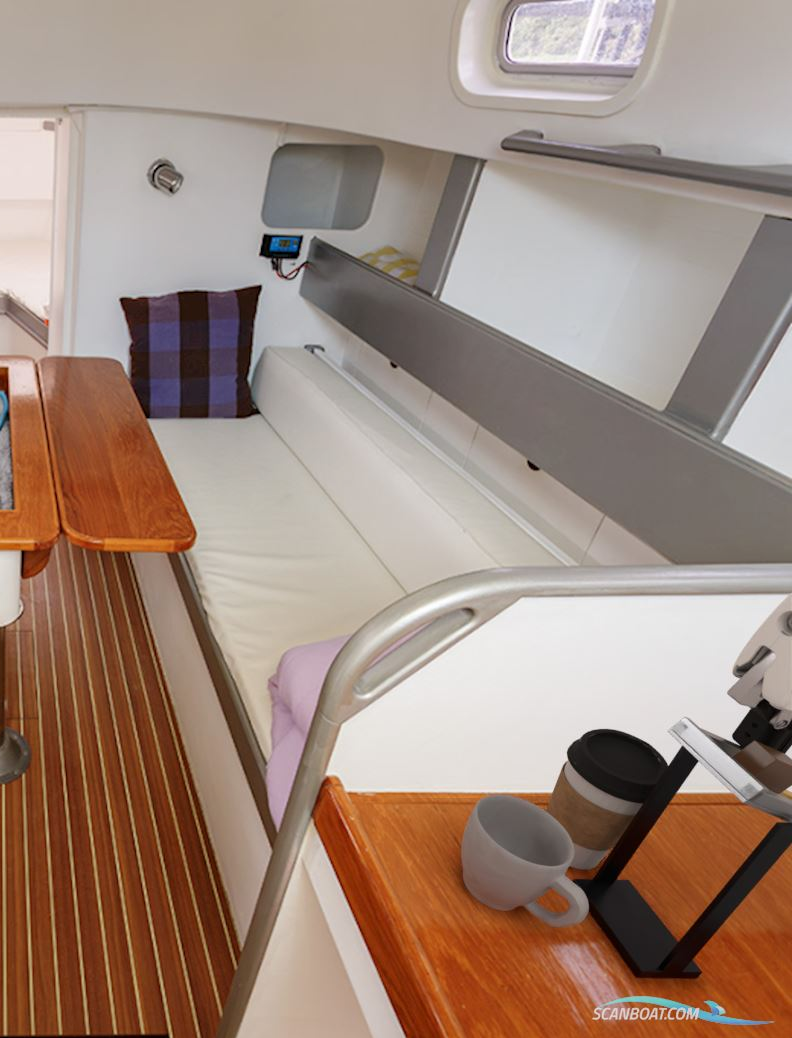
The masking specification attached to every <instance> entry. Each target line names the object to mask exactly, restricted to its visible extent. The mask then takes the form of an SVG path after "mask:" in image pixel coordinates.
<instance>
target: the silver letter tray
mask: <svg viewBox="0 0 792 1038" xmlns="http://www.w3.org/2000/svg"><path fill="white" fill-rule="evenodd" d="M667 733H669V735H670V736H671V737H673V738H674V739H675V740H676V741H677V742H678V743H679V744H680V745H681V746H683V747H684V748H685V749H686V750H688V751H689V752H690V753H691V754H692V755H693V756H694V757H695V758H696V759H697V760H698V763H700V764H701V765H702V766H703V767H704V768H705V769H706V770H707V771H708V772H710V773H711V774H712V775H713V776H714V777H715V778H716V779H717V780H718V781H719V782H720V783H721V784H722V785H723V786H725V788H726V789H727V790H729V791H730V793H732V794H733V795H734V796H735V797H736V798H737V800H739V801H740V802H741V803H742V804H745V805H746V806H749V807H751V808H754V809H756V810H757V811H761V812H763V813H765V814H767V815H770V816H773V817H775V818H777V819H780V820H782V821H783V822H791V823H792V800H791V799H789V798H786V797H784V796H782V795H779V794H777V793H775V792H772V791H770V790H769V789H767V788H766V787H765V786H764V785H763V784H762V783H761V782H760V781H759V780H757V779H756V778H755V777H754V776H753V775H752V774H751V773H750V772H748V771H747V770H746V769H745V768H744V767H743V766H742V765H741V764H740V763H738V762H737V761H736V760H735V759H734V758H733V756H734V755H736V754H737V753H738V752H740V751H741V750H742V749H744V748H743V747H742V746H740V745H739V744H738V743H736V742H733V741H731V740H728V739H727V738H724V737H722V736H719V735H718V734H715V733H713V732H711V731H708V730H706V729H704V728H702V727H700V726H699V725H698V724H696V723H695V721H693V720H692V719H691V718H689V717H687V716H683V717H682V718H681V719H680V720H679V721H678V722H676V723H675V724H674V725H673V726H671V727H670V728H668V729H667Z"/></svg>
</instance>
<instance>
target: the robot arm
mask: <svg viewBox="0 0 792 1038" xmlns="http://www.w3.org/2000/svg"><path fill="white" fill-rule="evenodd" d="M731 671H732V675H733V676H734V677H735V678H737V679H738V680H737V681H736V682H735V683H734V684H733V685H732V686H731V687H730V688H729V689H728V690H727V691H726V694H727V695H728V696H729V697H730V698H731V699H733V700H734V701H735V702H736V703H737V704H739V705H740V706H745V707H748V708H749V710H748V712H747V713H746V714H745V716H744V717H743V719H742V720H741V721H740V723H739V724H738V726H737V727H736V728H735V729H734V731H733V732H732V734H731V738H732V740H733V741H734V742H735V743H736V744H738V745H740V746H742V747H743V748H745V747H746V746H748V745H749V744H750V743H752V742H753V741H757V742H759V743H762V744H764V745H766V746H768V747H771V748H773V749H775V750H777V751H779V752H782V753H784V754H787V752H789V749H791V747H792V592H790V593H789V594H788V595H787V596H786V597H785V598H784V599H783V601H781V603H779V604H778V606H777V607H776V608H775V609H774V610H773V611H772V612H771V613H770V614H769V615H768V617H766V619H764V621H763V622H762V623H761V624H760V626H759V627H758V628H757V630H756V631H755V632H754V633H753V634H752V636H751V637H750V639H749V640H748V641H747V643H746V644H745V646H744V647H743V649H742V650H741V652H739V655H738V656H737V658H736V660H735V662H734V664H733V667H732V669H731Z"/></svg>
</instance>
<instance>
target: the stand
mask: <svg viewBox="0 0 792 1038" xmlns="http://www.w3.org/2000/svg"><path fill="white" fill-rule="evenodd" d="M698 763H699V761H698V760H697V759H696V758H695V757H694V756H693V755H692V754H691V753H690V752H689V751H688V750H686V749H685V748H684V747H683V746H682V745H681V746H680V748H679V749H678V751H677V752H676V754H675V755H674V756H673V758H672V760H671V761H670V763H669V764H668V767H667V769H666V770H665V772H664V773H663V775H662V776H661V778H660V779H659V781H658V782H657V784H656V785H655V787H654V788H653V790H652V791H651V793H650V794H649V796H648V797H647V799H646V800H645V802H644V803H643V805H642V806H641V808H640V809H639V810H638V812H637V813H636V815H635V816H634V818H633V819H632V821H631V822H630V824H629V825H628V827H627V828H626V830H625V831H624V833H623V834H622V836H621V837H620V839H619V840H618V842H617V843H616V845H615V846H614V847H613V848H611V850H610V851H609V854H608V855H607V857H606V858H605V859H604V861H603V863H602V864H601V866H600V867H599V868H598V870H597V872H596V873H595V874H594V876H593V878H573V880H571V881H572V882H573V883H575V884H576V885H577V886H578V887H580V888H581V889H582V890H583V892H584V893H585V895H586V897H587V899H588V904H589V911H588V913H589V914H590V916H591V917H592V918H593V920H594V921H595V923H596V924H597V925H598V927H599V928H600V930H601V931H602V932H603V934H604V935H605V936H606V938H607V939H608V941H609V942H610V943H611V945H612V947H614V949H615V951H616V952H617V954H618V955H619V956H620V957H621V959H622V960H623V961H624V963H625V965H627V967H628V969H629V970H630V971H631V973H632V974H633V975H634V977H635V978H636V979H675V980H676V979H681V980H682V979H683V980H684V979H687V980H697V979H698V978H699V977H700V976H701V975H702V973H703V971H702V970H701V968H700V967H699V966H698V964H697V963H696V962H695V960H694V959H695V958H696V957H697V955H698V954H699V953H700V952H701V951H702V949H703V948H704V947H705V946H706V945H707V943H708V942H709V941H710V940H711V939H712V938H713V936H715V934H716V933H717V932H718V930H720V928H721V927H722V926H723V925H724V924H725V922H726V921H727V920H728V919H729V918H730V917H731V916H732V914H733V913H734V912H735V911H736V910H737V908H738V907H739V906H740V905H741V904H742V903H743V901H744V900H745V899H746V898H747V896H748V895H749V894H750V893H751V892H752V891H753V890H754V888H756V886H757V885H758V884H759V883H760V881H761V880H762V879H763V878H764V877H765V876H766V875H767V873H768V872H769V871H770V870H771V869H772V867H773V866H774V865H775V864H776V863H777V862H778V860H779V859H780V858H781V857H782V856H783V854H784V853H785V852H786V851H787V850H788V849H789V847H790V846H791V845H792V823H791V822H787V821H777V822H775V823H774V825H773V826H772V827H771V828H770V830H769V831H768V832H767V833H766V834H765V836H764V837H763V838H762V839H761V840H760V842H759V843H758V844H757V846H756V847H755V848H754V849H753V850H752V852H751V853H750V854H749V855H748V857H746V859H745V860H744V861H743V863H741V865H740V866H739V867H738V869H737V870H736V871H735V872H734V874H733V875H732V876H731V877H730V879H729V880H728V881H727V882H726V883H725V885H724V886H723V887H722V888H721V889H720V891H718V893H717V894H716V895H715V897H714V898H713V899H712V900H711V901H710V903H709V904H708V906H706V908H705V909H704V910H703V912H702V913H701V914H700V915H699V916H698V917H697V919H695V921H694V923H693V924H692V925H691V926H690V927H689V928H688V929H687V931H686V932H685V933H684V935H683V936H682V937H681V938H680V939H679V941H678V939H677V938H676V937H675V935H674V934H673V933H672V932H671V930H669V928H668V927H667V925H666V924H665V923H664V922H663V921H662V920H661V918H660V916H658V914H657V913H656V912H655V911H654V909H653V908H652V907H651V905H650V904H649V903H648V902H647V900H646V899H645V898H644V897H643V895H641V893H640V892H639V891H638V890H637V888H636V886H635V885H633V883H632V882H631V881H630V879H618V878H619V876H620V875H621V874H622V872H623V871H624V869H625V868H626V866H627V865H628V863H629V862H630V861H631V859H632V858H633V856H634V855H635V853H636V852H637V851H638V850H639V848H640V846H641V845H642V843H643V842H644V840H645V839H646V838H647V836H648V835H649V833H650V832H651V830H652V829H653V828H654V826H655V825H656V823H657V822H658V820H659V819H660V818H661V816H662V815H663V813H664V812H665V811H666V809H667V808H668V806H669V805H670V803H671V801H672V800H673V799H674V797H675V796H676V795H677V793H678V791H679V790H680V789H681V787H682V786H683V785H684V783H685V781H686V780H687V779H688V777H689V776H690V774H691V773H692V771H693V770H694V769H695V768H696V766H697V765H698Z"/></svg>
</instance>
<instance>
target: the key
mask: <svg viewBox="0 0 792 1038" xmlns="http://www.w3.org/2000/svg"><path fill="white" fill-rule="evenodd" d="M733 758H734V759H735V760H736V761H737V762H738V763H740V764H741V765H742V766H743V767H744V768H745V769H746V770H747V771H748V772H750V773H751V774H752V775H753V776H754V777H755V778H756V779H757V780H759V781H760V782H761V783H762V784H763V785H764V786H765V787H766V788H767V789H769V790H770V791H772V792H775V793H777V794H779V795H782V796H784V797H786V798H789V799H791V800H792V791H790V790H788V789H789V788H790V787H792V758H791V757H790V756H789V755H787V753H785V754H784V753H782V752H779V751H777V750H775V749H773V748H771V747H768V746H766V745H764V744H762V743H759V742H757V741H753V742H752V743H750V744H749V745H748V746H746V747H745V748H744V749H742V750H741V751H740V752H738V753H737V754H736V755H734V756H733Z"/></svg>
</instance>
